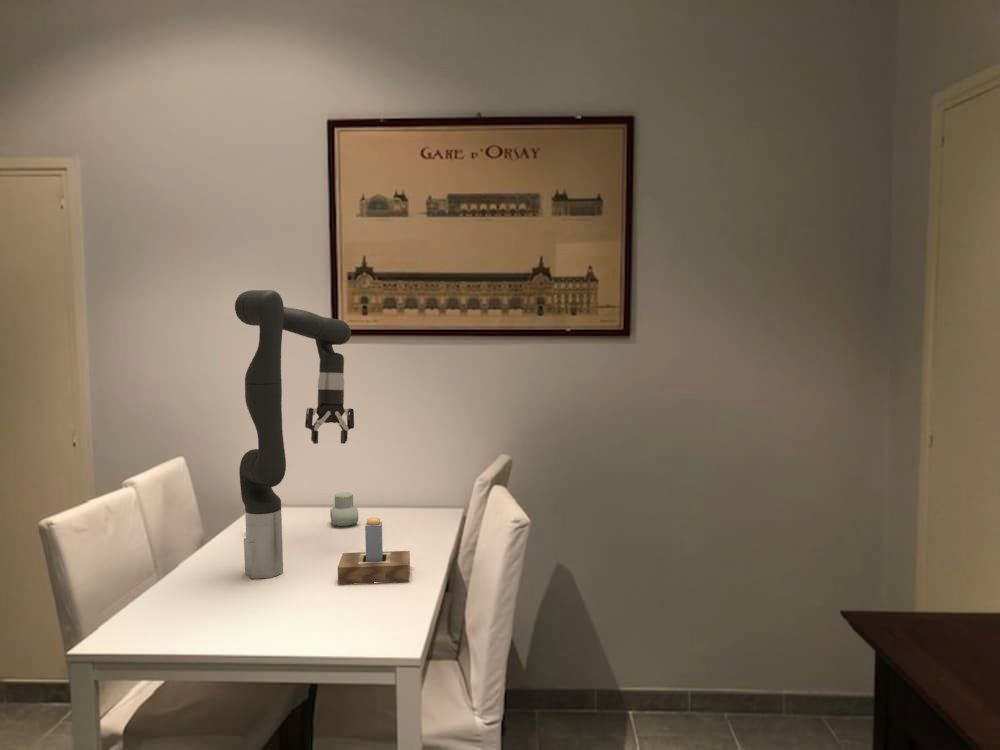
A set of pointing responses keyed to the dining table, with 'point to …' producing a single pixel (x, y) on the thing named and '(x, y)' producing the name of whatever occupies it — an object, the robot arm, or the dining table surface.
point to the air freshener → (344, 510)
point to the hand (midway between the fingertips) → (329, 443)
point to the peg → (374, 540)
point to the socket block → (374, 568)
